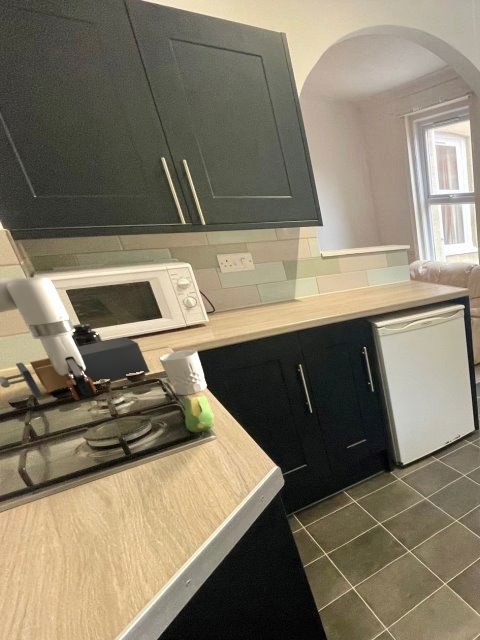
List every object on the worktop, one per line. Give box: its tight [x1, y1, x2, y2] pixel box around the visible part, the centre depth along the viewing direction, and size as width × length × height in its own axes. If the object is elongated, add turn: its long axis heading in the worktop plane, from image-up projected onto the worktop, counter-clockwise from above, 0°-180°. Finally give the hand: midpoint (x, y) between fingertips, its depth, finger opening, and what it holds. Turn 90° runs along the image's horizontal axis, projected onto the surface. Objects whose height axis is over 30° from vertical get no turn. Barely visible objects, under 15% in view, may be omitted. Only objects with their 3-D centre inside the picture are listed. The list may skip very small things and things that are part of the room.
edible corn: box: [184, 395, 215, 433], centre depth 95 cm, size 5×20×5 cm, turn 38°
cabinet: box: [77, 336, 150, 383], centre depth 123 cm, size 14×13×9 cm
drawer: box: [0, 357, 69, 398], centre depth 114 cm, size 17×11×7 cm
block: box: [65, 376, 97, 401], centre depth 111 cm, size 4×4×4 cm
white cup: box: [159, 349, 208, 396], centre depth 110 cm, size 8×8×10 cm
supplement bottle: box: [71, 322, 103, 347], centre depth 136 cm, size 7×7×12 cm
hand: (85, 394), depth 111 cm, fingers closed on block, 4 cm apart
